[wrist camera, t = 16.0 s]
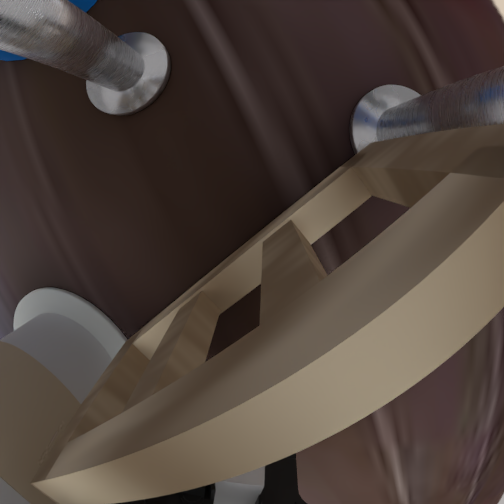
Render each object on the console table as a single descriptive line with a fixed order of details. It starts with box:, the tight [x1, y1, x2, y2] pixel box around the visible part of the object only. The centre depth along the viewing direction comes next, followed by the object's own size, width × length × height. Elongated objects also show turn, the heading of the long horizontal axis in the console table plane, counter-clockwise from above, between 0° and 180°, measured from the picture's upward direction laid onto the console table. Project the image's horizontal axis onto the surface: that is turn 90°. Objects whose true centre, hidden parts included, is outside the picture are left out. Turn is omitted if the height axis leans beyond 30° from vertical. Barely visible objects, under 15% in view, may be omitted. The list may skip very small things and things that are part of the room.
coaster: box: [14, 287, 128, 360], centre depth 15 cm, size 10×10×1 cm
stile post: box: [0, 0, 171, 116], centre depth 6 cm, size 4×4×10 cm
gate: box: [30, 124, 504, 504], centre depth 8 cm, size 14×1×9 cm, turn 130°
